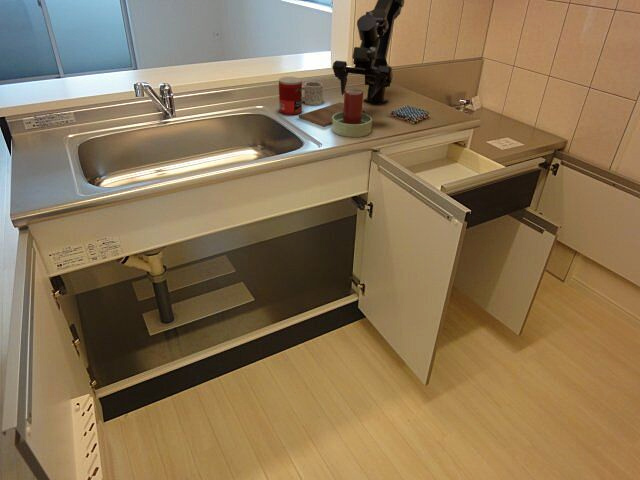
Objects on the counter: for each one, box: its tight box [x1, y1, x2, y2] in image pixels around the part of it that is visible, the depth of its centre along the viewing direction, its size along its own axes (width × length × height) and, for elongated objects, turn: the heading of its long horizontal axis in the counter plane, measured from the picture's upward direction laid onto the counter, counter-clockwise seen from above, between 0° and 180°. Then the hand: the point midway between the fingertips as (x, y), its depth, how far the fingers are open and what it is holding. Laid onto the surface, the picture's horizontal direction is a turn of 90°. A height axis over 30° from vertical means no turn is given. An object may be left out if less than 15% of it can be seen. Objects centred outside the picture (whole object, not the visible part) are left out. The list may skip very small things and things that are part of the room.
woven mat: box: [389, 105, 430, 124], centre depth 153 cm, size 10×11×2 cm
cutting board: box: [298, 101, 366, 128], centre depth 152 cm, size 21×12×2 cm, turn 136°
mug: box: [302, 81, 324, 106], centre depth 162 cm, size 10×7×7 cm
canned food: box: [278, 76, 303, 116], centre depth 152 cm, size 8×8×11 cm
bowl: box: [331, 112, 373, 138], centre depth 140 cm, size 13×13×4 cm
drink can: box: [343, 88, 364, 125], centre depth 137 cm, size 6×6×12 cm
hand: (356, 96), depth 138 cm, fingers open, 9 cm apart
